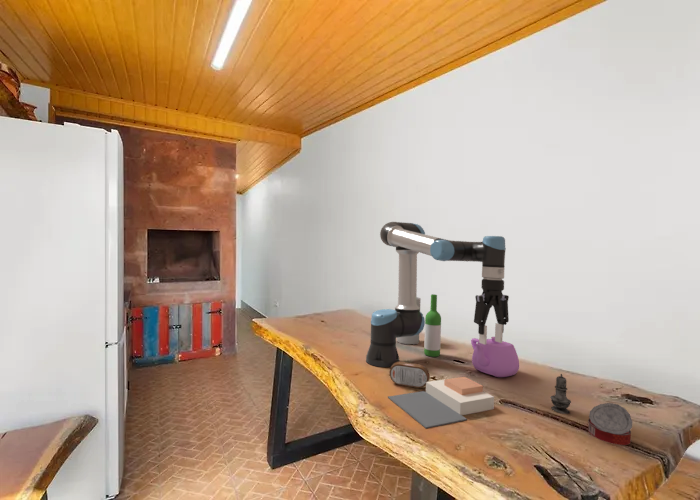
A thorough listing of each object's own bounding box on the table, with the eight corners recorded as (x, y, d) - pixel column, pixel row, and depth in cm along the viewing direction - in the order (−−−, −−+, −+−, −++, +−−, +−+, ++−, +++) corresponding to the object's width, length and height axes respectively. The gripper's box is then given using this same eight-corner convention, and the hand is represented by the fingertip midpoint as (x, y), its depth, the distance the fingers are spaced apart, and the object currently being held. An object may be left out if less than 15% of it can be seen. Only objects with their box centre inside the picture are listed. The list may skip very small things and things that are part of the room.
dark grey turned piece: (570, 416, 110) (572, 378, 111) (549, 411, 114) (550, 374, 114) (570, 409, 115) (571, 373, 116) (550, 404, 119) (551, 369, 119)
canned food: (631, 457, 97) (650, 434, 92) (597, 454, 96) (615, 431, 91) (604, 421, 107) (621, 399, 102) (573, 417, 106) (589, 395, 101)
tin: (429, 387, 130) (430, 365, 130) (428, 390, 127) (429, 367, 127) (390, 381, 135) (390, 359, 135) (388, 384, 132) (389, 362, 132)
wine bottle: (439, 353, 175) (441, 294, 175) (440, 358, 167) (442, 296, 167) (423, 352, 176) (425, 293, 176) (424, 356, 169) (426, 295, 169)
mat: (387, 397, 120) (387, 396, 120) (424, 392, 126) (424, 390, 126) (425, 428, 99) (425, 427, 99) (466, 420, 105) (466, 418, 105)
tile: (444, 385, 122) (444, 379, 122) (464, 382, 126) (464, 376, 126) (461, 395, 114) (462, 389, 114) (482, 391, 118) (482, 385, 118)
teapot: (481, 361, 165) (483, 329, 165) (524, 375, 147) (526, 339, 147) (449, 368, 152) (450, 334, 152) (492, 385, 135) (493, 346, 135)
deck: (425, 393, 125) (426, 382, 125) (456, 388, 130) (456, 377, 130) (460, 415, 108) (460, 402, 108) (493, 409, 114) (494, 396, 114)
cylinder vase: (405, 338, 204) (407, 295, 204) (423, 342, 195) (425, 298, 195) (392, 341, 196) (393, 297, 196) (409, 346, 187) (411, 299, 187)
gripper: (479, 279, 117) (477, 347, 117) (521, 279, 125) (519, 343, 125) (464, 278, 124) (461, 341, 124) (504, 278, 132) (502, 338, 132)
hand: (490, 342), depth 125 cm, fingers open, 7 cm apart
